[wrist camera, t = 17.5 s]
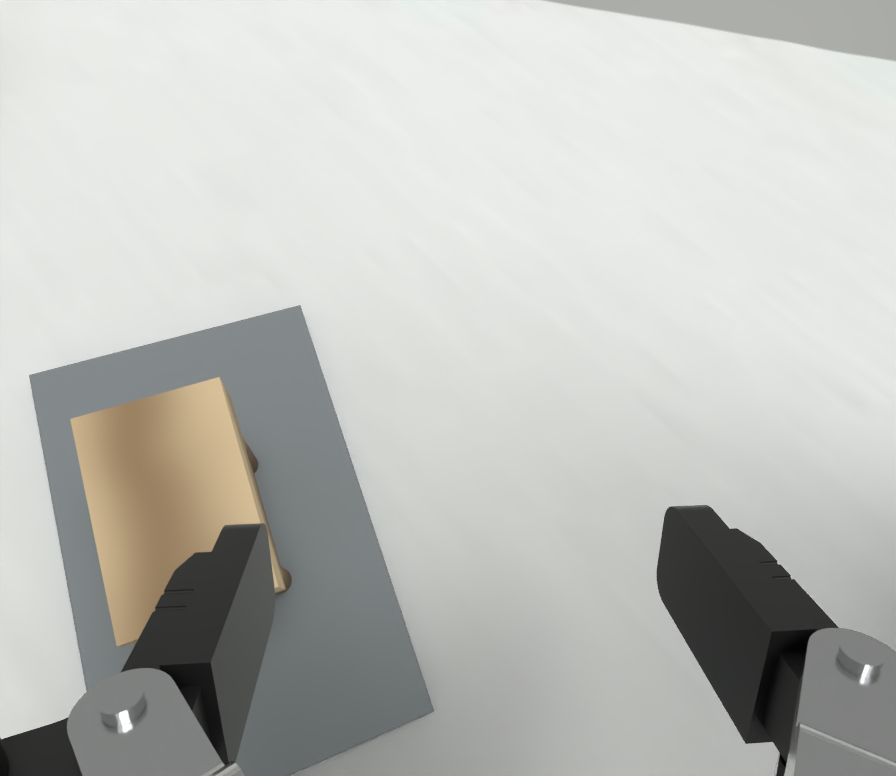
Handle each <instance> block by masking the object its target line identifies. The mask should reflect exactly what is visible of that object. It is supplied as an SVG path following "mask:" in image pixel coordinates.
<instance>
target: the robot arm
mask: <svg viewBox="0 0 896 776" xmlns="http://www.w3.org/2000/svg"><path fill="white" fill-rule="evenodd" d="M657 584H658V589H659V593H660V596H661V599H662V601H663V603H664V605H665V607H666V608H667V610H668V612H669V614H670V615H671V617H672V619H673V620H674V622H675V624H676V625H677V627H678V629H679V631H680V632H681V634H682V636H683V637H684V639H685V641H686V643H687V644H688V646H689V648H690V649H691V651H692V653H693V654H694V656H695V658H696V660H697V661H698V663H699V665H700V666H701V668H702V670H703V672H704V673H705V675H706V677H707V678H708V680H709V682H710V683H711V685H712V687H713V689H714V690H715V692H716V694H717V695H718V697H719V699H720V700H721V702H722V704H723V706H724V707H725V709H726V711H727V712H728V714H729V716H730V718H731V719H732V721H733V723H734V724H735V726H736V728H737V729H738V731H739V733H740V735H741V736H742V738H743V740H744V741H745V743H746V744H748V743H762V742H773V743H774V744H775V746H776V747H777V749H778V751H779V755H778V759H777V763H776V767H775V773H774V776H896V652H895V651H894V650H893V649H891V648H890V647H888V646H887V645H885V644H884V643H882V642H880V641H878V640H876V639H874V638H872V637H870V636H868V635H865V634H862V633H860V632H856V631H853V630H848V629H842V628H838V627H837V625H836V624H835V623H834V622H833V621H832V620H831V619H830V618H829V617H828V616H827V615H826V614H825V612H824V611H823V610H822V609H821V608H820V607H819V606H818V605H817V604H816V603H815V602H814V601H813V599H812V598H811V597H810V596H809V595H808V594H807V593H806V592H805V591H804V590H803V589H802V588H801V586H800V585H799V584H798V583H797V582H796V581H795V580H794V579H792V580H791V577H790V575H789V573H788V572H787V571H786V570H785V569H784V568H783V567H782V566H781V565H778V564H777V560H776V559H775V558H774V557H773V556H772V555H771V554H770V553H769V552H768V551H767V550H766V549H765V547H764V546H763V545H762V544H761V543H759V542H758V541H756V540H754V539H753V538H751V537H749V536H748V535H746V534H745V533H743V532H741V531H740V530H738V529H729V528H728V526H727V525H726V524H725V523H724V522H723V521H722V520H721V518H720V517H719V516H718V515H717V514H716V513H715V512H714V510H713V509H712V508H711V507H709V506H707V505H698V506H675V507H669V508H668V509H667V511H666V513H665V517H664V524H663V531H662V538H661V545H660V552H659V559H658V566H657ZM274 610H275V588H274V579H273V571H272V563H271V555H270V547H269V539H268V532H267V528H266V525H265V524H264V523H258V524H235V525H225V526H224V527H223V528H222V530H221V532H220V534H219V536H218V539H217V541H216V543H215V545H214V547H213V549H212V552H196V553H194V554H193V555H192V556H191V557H189V558H188V559H187V560H186V561H185V562H184V563H183V564H181V565H180V566H179V567H178V568H177V569H176V570H175V571H174V573H173V574H172V576H171V578H170V580H169V582H168V584H167V586H166V588H165V590H164V594H162V595H161V597H160V599H159V601H158V603H157V605H156V607H155V611H154V612H152V614H151V616H150V618H149V620H148V622H147V624H146V625H145V627H144V629H143V631H142V633H141V635H140V637H139V639H138V640H137V642H136V644H135V646H134V648H133V650H132V652H131V654H130V656H129V657H128V659H127V661H126V663H125V665H124V667H123V669H122V671H121V673H118V674H116V675H113V676H111V677H109V678H107V679H105V680H103V681H102V682H100V683H98V684H97V685H96V686H94V687H93V688H91V689H90V690H89V691H88V692H87V693H85V694H84V695H83V696H82V698H81V699H80V700H79V701H78V702H77V703H76V705H75V706H74V707H73V709H72V711H71V713H70V715H69V717H68V718H66V719H64V720H61V721H58V722H56V723H53V724H50V725H46V726H43V727H40V728H37V729H34V730H30V731H27V732H24V733H21V734H17V735H14V736H11V737H8V738H4V739H1V738H0V776H245V775H244V773H243V772H242V770H241V769H240V767H239V766H238V765H237V764H236V759H237V755H238V751H239V748H240V744H241V740H242V736H243V732H244V729H245V725H246V721H247V717H248V714H249V710H250V706H251V702H252V698H253V695H254V691H255V687H256V683H257V680H258V676H259V672H260V668H261V664H262V661H263V657H264V653H265V649H266V646H267V642H268V638H269V634H270V630H271V627H272V623H273V618H274Z"/></svg>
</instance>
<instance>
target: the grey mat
mask: <svg viewBox="0 0 896 776" xmlns="http://www.w3.org/2000/svg"><path fill="white" fill-rule="evenodd" d="M29 377H30V383H31V388H32V393H33V399H34V404H35V410H36V415H37V421H38V426H39V432H40V437H41V443H42V448H43V454H44V459H45V465H46V470H47V476H48V481H49V487H50V492H51V498H52V503H53V509H54V514H55V520H56V525H57V531H58V536H59V542H60V547H61V553H62V558H63V564H64V569H65V575H66V580H67V586H68V591H69V597H70V602H71V607H72V613H73V618H74V624H75V629H76V635H77V640H78V646H79V651H80V657H81V662H82V668H83V673H84V679H85V684H86V690H87V692H88V691H89V690H90V689H91V688H93V687H94V686H96V685H97V684H98V683H100V682H102V681H103V680H105V679H107V678H109V677H111V676H113V675H116V674H118V673H121V671H122V669H123V667H124V665H125V663H126V661H127V659H128V657H129V656H130V654H131V652H132V650H133V648H134V646H135V644H134V645H126V646H118V647H117V645H116V641H115V636H114V631H113V626H112V621H111V616H110V611H109V606H108V601H107V596H106V592H105V587H104V582H103V577H102V572H101V567H100V562H99V557H98V552H97V547H96V543H95V538H94V533H93V528H92V523H91V518H90V513H89V508H88V503H87V498H86V494H85V489H84V484H83V479H82V474H81V469H80V464H79V459H78V454H77V449H76V445H75V440H74V435H73V430H72V425H71V420H70V419H72V418H75V417H79V416H82V415H86V414H89V413H93V412H97V411H100V410H104V409H107V408H111V407H114V406H118V405H121V404H125V403H129V402H132V401H136V400H139V399H143V398H146V397H150V396H153V395H157V394H160V393H164V392H168V391H171V390H175V389H178V388H182V387H185V386H189V385H192V384H196V383H199V382H203V381H207V380H210V379H214V378H217V377H220V379H221V381H222V383H223V384H224V386H225V388H226V390H227V391H228V393H229V395H230V397H231V399H232V403H233V406H234V410H235V413H236V417H237V420H238V424H239V427H240V431H241V434H242V436H243V438H244V440H245V441H246V443H247V444H248V446H249V447H250V449H251V451H252V452H253V454H254V455H255V457H256V459H257V461H258V469H257V471H256V472H255V473H254V475H255V479H256V482H257V485H258V489H259V492H260V496H261V499H262V503H263V506H264V510H265V513H266V517H267V520H268V524H269V527H270V531H271V534H272V538H273V541H274V545H275V548H276V552H277V555H278V559H279V562H280V566H281V567H283V568H284V569H286V570H287V571H288V572H289V573H290V575H291V578H292V582H291V586H290V587H289V589H288V590H287V591H286V592H284V593H282V594H275V610H274V618H273V623H272V627H271V630H270V634H269V638H268V642H267V646H266V649H265V653H264V657H263V661H262V664H261V668H260V672H259V676H258V680H257V683H256V687H255V691H254V695H253V698H252V702H251V706H250V710H249V714H248V717H247V721H246V725H245V729H244V732H243V736H242V740H241V744H240V748H239V751H238V755H237V759H236V764H237V765H238V766H239V767H240V769H241V770H242V772H243V773H244V775H245V776H288V775H291V774H293V773H295V772H297V771H300V770H302V769H304V768H307V767H309V766H311V765H313V764H316V763H318V762H320V761H322V760H325V759H327V758H329V757H331V756H334V755H336V754H338V753H340V752H343V751H345V750H347V749H349V748H352V747H354V746H356V745H359V744H361V743H363V742H365V741H368V740H370V739H372V738H374V737H377V736H379V735H381V734H383V733H386V732H388V731H390V730H392V729H395V728H397V727H399V726H401V725H404V724H406V723H408V722H410V721H413V720H415V719H417V718H420V717H422V716H424V715H426V714H429V713H431V712H433V711H434V709H433V706H432V703H431V700H430V697H429V694H428V691H427V688H426V685H425V682H424V679H423V676H422V673H421V670H420V667H419V664H418V661H417V658H416V655H415V652H414V649H413V646H412V643H411V640H410V637H409V634H408V631H407V628H406V625H405V622H404V618H403V615H402V612H401V609H400V606H399V603H398V600H397V597H396V594H395V591H394V588H393V585H392V582H391V579H390V576H389V573H388V570H387V567H386V564H385V561H384V558H383V555H382V552H381V549H380V546H379V543H378V540H377V537H376V534H375V531H374V528H373V525H372V522H371V518H370V515H369V512H368V509H367V506H366V503H365V500H364V497H363V494H362V491H361V488H360V485H359V482H358V479H357V476H356V473H355V470H354V467H353V464H352V461H351V458H350V455H349V452H348V449H347V446H346V443H345V440H344V437H343V434H342V431H341V428H340V425H339V422H338V418H337V415H336V412H335V409H334V406H333V403H332V400H331V397H330V394H329V391H328V388H327V385H326V382H325V379H324V376H323V373H322V370H321V367H320V364H319V361H318V358H317V355H316V352H315V349H314V346H313V343H312V340H311V337H310V334H309V331H308V328H307V325H306V322H305V318H304V315H303V312H302V309H301V306H300V305H299V306H295V307H291V308H287V309H284V310H280V311H276V312H272V313H268V314H264V315H260V316H256V317H253V318H249V319H245V320H241V321H237V322H233V323H229V324H225V325H222V326H218V327H214V328H210V329H206V330H202V331H198V332H194V333H191V334H187V335H183V336H179V337H175V338H171V339H167V340H163V341H160V342H156V343H152V344H148V345H144V346H140V347H136V348H132V349H129V350H125V351H121V352H117V353H113V354H109V355H105V356H101V357H98V358H94V359H90V360H86V361H82V362H78V363H74V364H70V365H67V366H63V367H59V368H55V369H51V370H47V371H43V372H39V373H36V374H32V375H29Z"/></svg>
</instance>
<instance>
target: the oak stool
mask: <svg viewBox="0 0 896 776" xmlns="http://www.w3.org/2000/svg"><path fill="white" fill-rule="evenodd" d="M70 420H71V425H72V430H73V435H74V440H75V445H76V449H77V454H78V459H79V464H80V469H81V474H82V479H83V484H84V489H85V494H86V498H87V503H88V508H89V513H90V518H91V523H92V528H93V533H94V538H95V543H96V547H97V552H98V557H99V562H100V567H101V572H102V577H103V582H104V587H105V592H106V596H107V601H108V606H109V611H110V616H111V621H112V626H113V631H114V636H115V641H116V645H117V647H118V646H126V645H134V644H136V642H137V640H138V639H139V637H140V635H141V633H142V631H143V629H144V627H145V625H146V624H147V622H148V620H149V618H150V616H151V614H152V612H154V611H155V607H156V605H157V603H158V601H159V599H160V597H161V595H162V594H164V590H165V588H166V586H167V584H168V582H169V580H170V578H171V576H172V574H173V573H174V571H175V570H176V569H177V568H178V567H179V566H180V565H181V564H183V563H184V562H185V561H186V560H187V559H188V558H189V557H191V556H192V555H193V554H194V553H196V552H212V549H213V547H214V545H215V543H216V541H217V539H218V536H219V534H220V532H221V530H222V528H223V527H224V526H225V525H235V524H258V523H264V524H265V525H266V528H267V532H268V539H269V547H270V555H271V563H272V571H273V579H274V588H275V594H282V593H284V592H286V591H287V590H288V589H289V587H290V586H291V582H292V578H291V575H290V573H289V572H288V571H287V570H286V569H284V568H283V567H281V566H280V562H279V559H278V555H277V552H276V548H275V545H274V541H273V538H272V534H271V531H270V527H269V524H268V520H267V517H266V513H265V510H264V506H263V503H262V499H261V496H260V492H259V489H258V485H257V482H256V479H255V475H254V473H255V472H256V471H257V469H258V461H257V459H256V457H255V455H254V454H253V452H252V451H251V449H250V447H249V446H248V444H247V443H246V441H245V440H244V438H243V436H242V434H241V431H240V427H239V424H238V420H237V417H236V413H235V410H234V406H233V403H232V399H231V397H230V395H229V393H228V391H227V390H226V388H225V386H224V384H223V383H222V381H221V379H220V377H217V378H214V379H210V380H207V381H203V382H199V383H196V384H192V385H189V386H185V387H182V388H178V389H175V390H171V391H168V392H164V393H160V394H157V395H153V396H150V397H146V398H143V399H139V400H136V401H132V402H129V403H125V404H121V405H118V406H114V407H111V408H107V409H104V410H100V411H97V412H93V413H89V414H86V415H82V416H79V417H75V418H72V419H70Z"/></svg>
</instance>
